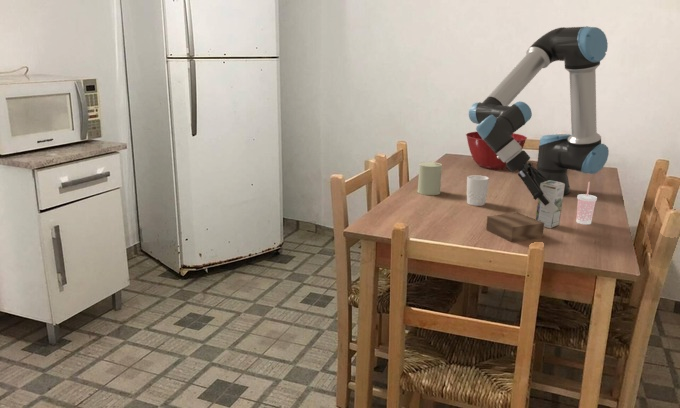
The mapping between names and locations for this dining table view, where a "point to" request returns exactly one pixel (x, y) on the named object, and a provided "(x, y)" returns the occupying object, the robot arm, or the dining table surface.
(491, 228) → the walnut block
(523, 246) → the dining table surface
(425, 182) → the can
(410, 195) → the dining table surface
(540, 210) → the drink carton
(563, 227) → the dining table surface
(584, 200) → the beverage cup
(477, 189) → the white cup
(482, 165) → the mixing bowl
